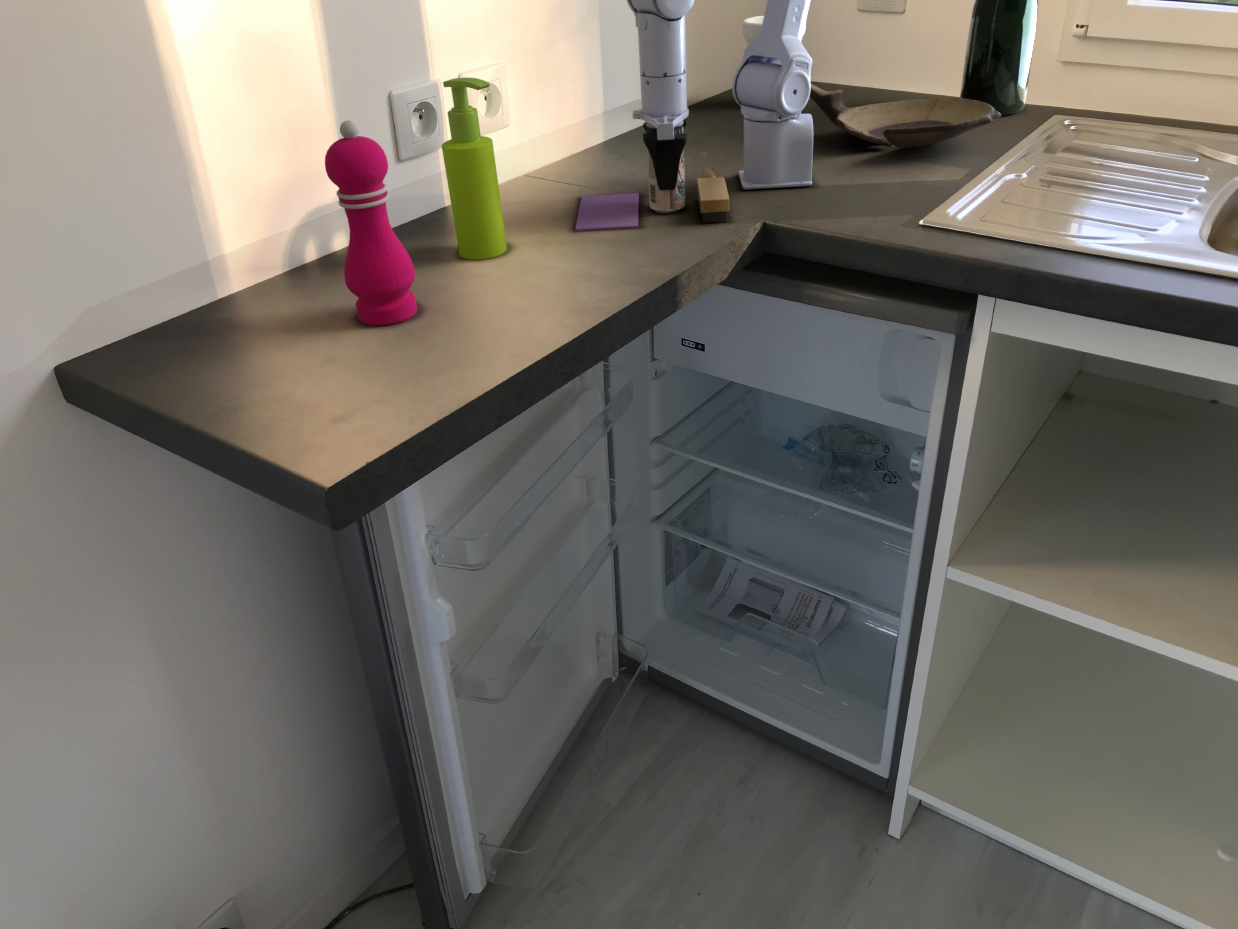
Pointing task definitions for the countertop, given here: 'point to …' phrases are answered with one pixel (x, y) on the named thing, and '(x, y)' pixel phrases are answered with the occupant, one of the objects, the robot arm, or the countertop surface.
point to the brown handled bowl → (905, 118)
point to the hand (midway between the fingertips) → (666, 183)
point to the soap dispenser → (472, 178)
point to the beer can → (666, 198)
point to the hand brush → (712, 196)
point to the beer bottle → (1000, 53)
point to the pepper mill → (370, 231)
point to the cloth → (608, 212)
